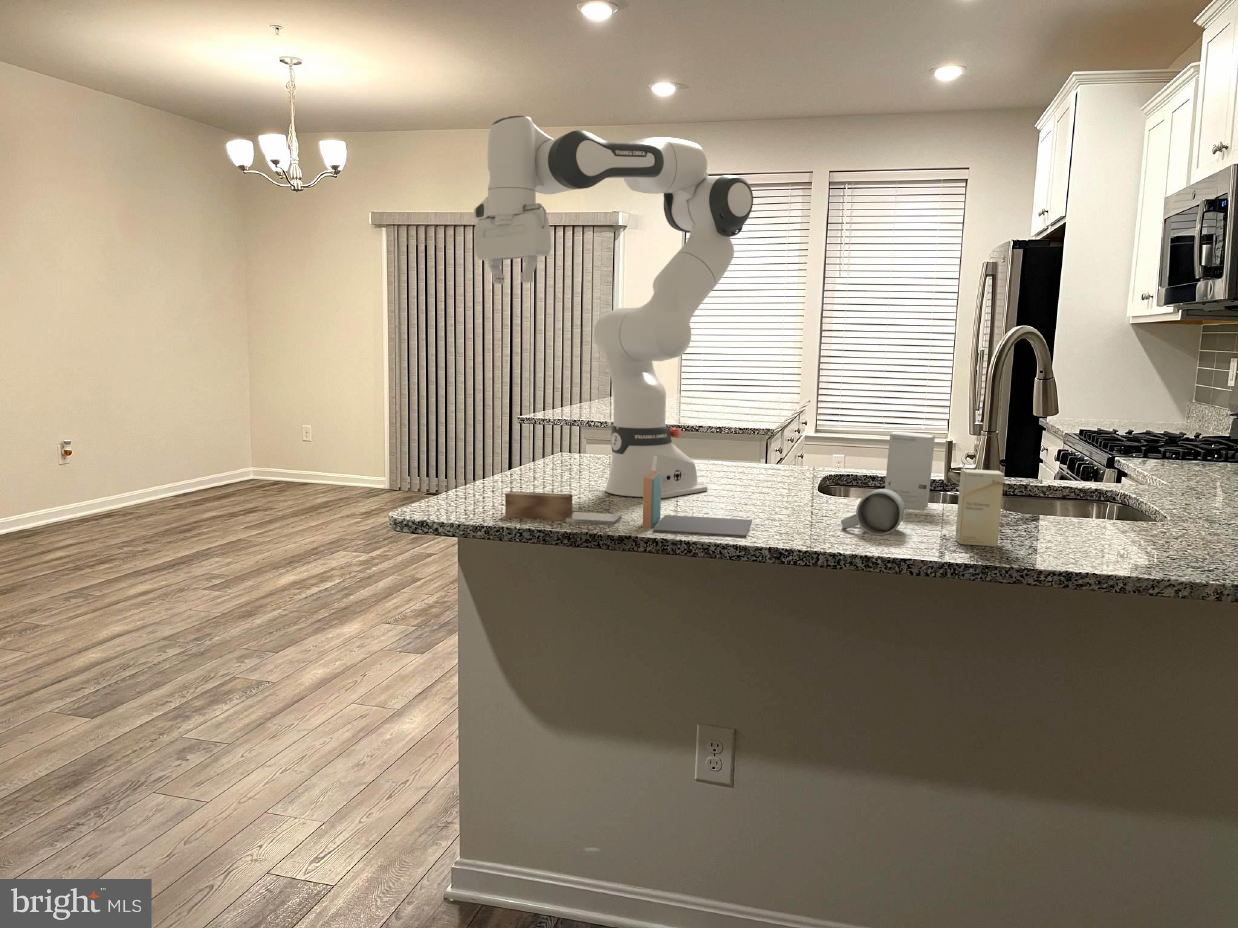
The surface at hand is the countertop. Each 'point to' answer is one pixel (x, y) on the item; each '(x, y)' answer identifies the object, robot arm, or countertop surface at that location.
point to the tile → (651, 499)
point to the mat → (703, 526)
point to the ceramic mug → (877, 513)
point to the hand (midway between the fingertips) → (512, 283)
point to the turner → (552, 508)
